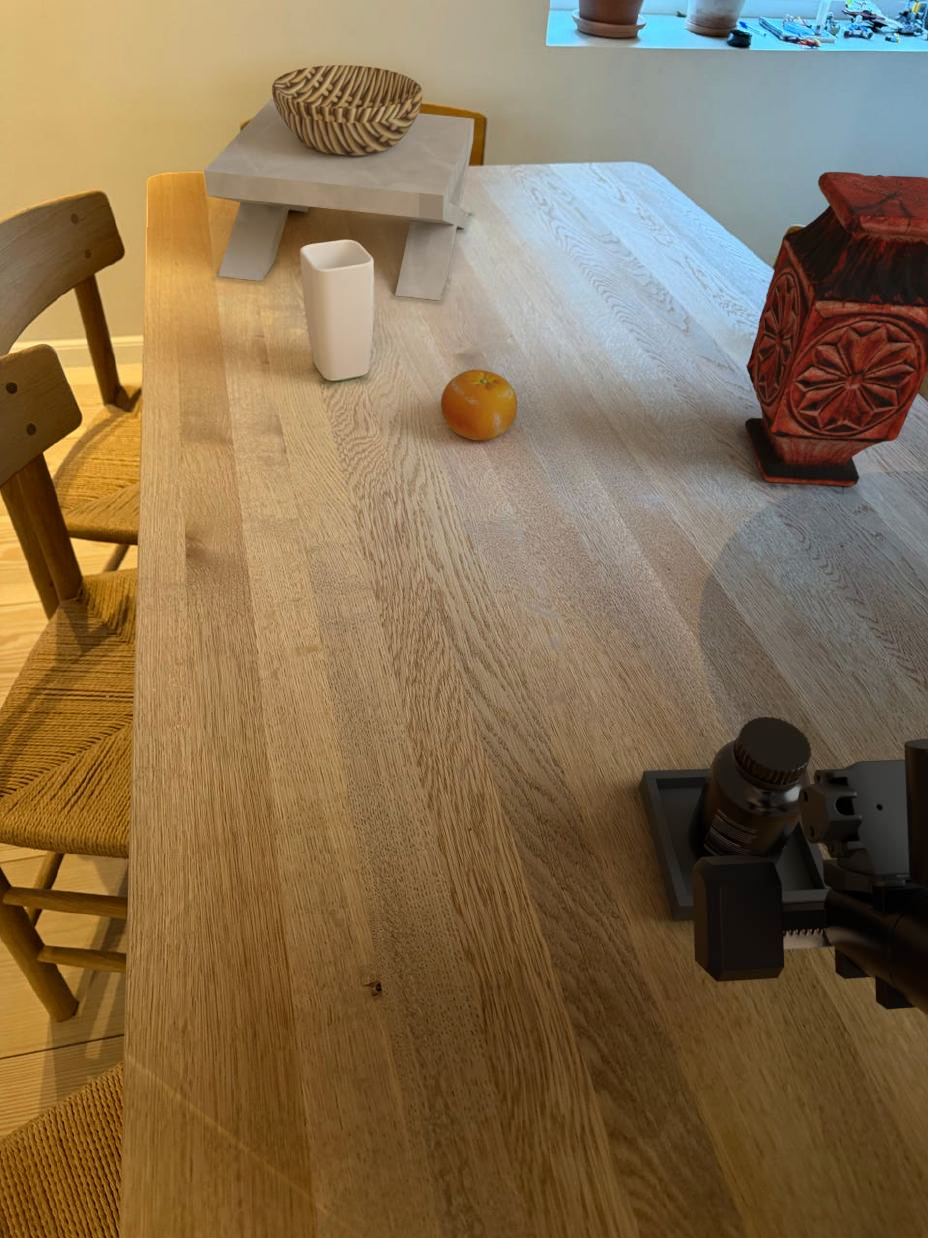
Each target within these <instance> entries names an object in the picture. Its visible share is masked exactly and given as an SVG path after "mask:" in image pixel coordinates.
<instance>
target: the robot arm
mask: <svg viewBox="0 0 928 1238" xmlns="http://www.w3.org/2000/svg"><path fill="white" fill-rule="evenodd" d="M903 747H904V759H885V760H884V759H882V760H862V761H856V762H854V763H852V764H850V765H848V766H846V767H844V768H825V769H824V768H823V769H815V771H814V773H813V781H814V783H811V784H809V785H807V786H805V787H802V788H801V789H800V791H799V795H798V802H799V808H800V813H801V818H802V824H803V829H804V835H805V837H806V838H807V840H808V841H809V842H810V843H811V844H817V843H818V844H821V845H824V846H825V847H826V850H827V853H828V856H829V857H830V858H827V859H825V858H824V860H823V879H824V884H825V885H827V886H829V887H831V888H830V889H829V891H828V893H827V895H826V898H825V901H812V902H795V903H782V883H781V880H780V877H779V875H778V872H777V869H776V866H775V864H774V862H773V861H771V860H770V859H768V858H766V857H762V854H746V855H727V856H714V857H701V858H700V859H699V861H698V862H697V863H696V864H695V865H694V866H693V867H692V884H693V915H694V920H693V940H694V942H693V943H694V945H693V946H694V961H695V962H696V963H697V964H698V965H699V967H701V968H702V970H703V971H705V972H706V973H707V974H708V975H709V976H710V977H711V978H712V979H713V980H714V981H716V982H717V983H723V982H724V983H725V982H739V981H753V980H755V981H756V980H769V979H779V977H780V975H781V973H782V972H783V970H784V968H785V951H789V950H790V951H791V950H805V949H808V950H809V949H824V948H834V971H835V974H837V975H839V977H841V978H842V979H843V980H849V979H850V980H852V979H865V978H872V979H873V980H874V987H875V988H874V989H875V1002H876V1003H877V1004H878V1005H880V1006H881V1007H882V1008H884V1009H885V1010H900V1009H901V1010H903V1009H918V1010H919V1011H920V1012H922V1013H923V1014H925V1015H927V1016H928V738H918V739H917V738H916V739H911V740H908V741H905V742H904V744H903Z"/></svg>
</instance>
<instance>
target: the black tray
mask: <svg viewBox="0 0 928 1238" xmlns="http://www.w3.org/2000/svg"><path fill="white" fill-rule="evenodd" d="M709 769H710V768H688V769H660V770H659V769H658V770H657V769H656V770H643V773H642V775H641V779H640V782H639V785H638V788H639V793H640V796H641V801H642V804H643V809H644V813H645V816H646V820H647V824H648V828H649V831H650V836H651V840H652V843H653V847H654V851H655V855H656V859H657V863H658V866H659V867H658V868H659V871H660V875H661V878H662V882H663V886H664V891H665V894H666V899H667V902H668V906H669V910H670V914H671V917H672V921H673V922H679V921H694V915H693V884H692V867H693V866H694V865H695V864H696V863H697V862H698V861H699V860H698V858H697V857H696V855H695V854H694V852H693V850H692V848H691V845H690V842H689V835H688V832H689V825H690V822H691V819H692V815H693V813H694V810H695V807H696V804H697V802H698V799H699V796H700V794H701V791H702V788H703V785H704V783H705V780H706V777H707V775H708V772H709ZM823 860H825V858H824V856H823V853H822V851H821V849H820V846H819V843H817V844H811V843H810V842H809V841H808V840H807V838H806V837H805V835H804V829H803V824H802V818H801V817H800V819H799V821H798V823H797V825H796V827H795V829H794V831H793V833H792V835H791V837H790V839H789V841H788V843H787V845H786V847H785V849H784V851H783V853H782V855H781V857H780V859H779V861H778V862H777V864H776V869H777V872H778V875H779V877H780V880H781V883H782V903H795V902H812V901H825V898H826V895H827V893H828V891H829V889H830V888H831V887H829V886H827V885H825V884H824V879H823Z"/></svg>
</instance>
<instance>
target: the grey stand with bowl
mask: <svg viewBox="0 0 928 1238" xmlns="http://www.w3.org/2000/svg"><path fill="white" fill-rule="evenodd" d="M271 95H272V98H270V99H269V100H268V101H267V102H266V103H265V104H264V106H263V107H262V108H261V109H260V110H259V111H258V112H257V113H256V114H255V115H254V117H252V119H250V121H249V122H247V124H246V125H245V126H244V127H243V128H242V129H241V130H240V131H239V132H238V133H237V134H236V136H234V138H233V139H232V140H230V142H229V143H228V144H227V145H226V146H225V148H223V149H222V151H220V152H219V154H218V155H217V156H216V157H215V158H214V159H213V161H211V162H210V163H209V164H208V166H207V167H206V168H205V169H204V170H203V176H204V182H205V183H204V184H205V191H206V196H207V197H211V198H216V199H221V200H226V201H231V202H236V203H239V206H238V209H237V213H236V216H235V219H234V222H233V225H232V229H231V233H230V234H229V235H230V236H229V239H228V242H227V245H226V249H225V251H224V255H223V257H222V261H221V265H220V267H219V271H218V274H217V277H221V278H229V279H238V280H249V281H257V282H258V281H259V282H263V280H264V278H265V277H266V275H267V274H268V272H269V271H270V269H271V268H272V267H273V265H274V264H275V261H276V258H277V253H278V250H279V246H280V243H281V240H282V236H283V233H284V229H285V225H286V221H287V219H288V214H289V212H300V213H308V212H309V210H310V208H311V207H312V208H313V207H314V208H323V209H332V210H339V211H340V210H341V211H350V212H351V211H352V212H359V213H360V212H361V213H362V212H363V213H372V214H380V215H391V216H396V217H400V218H403V219H406V220H409V221H410V224H409V229H408V233H407V238H406V242H405V248H404V251H403V257H402V262H401V266H400V269H399V270H400V271H399V275H398V279H397V285H396V290H395V295H394V296H395V297H404V298H413V299H422V300H423V299H424V300H432V301H441V300H442V299H441V298H442V296H443V293H444V290H445V287H446V284H447V281H448V275H449V270H450V265H451V261H452V254H453V250H454V245H455V239H456V233H457V229H466V225H467V222H468V218H469V215H470V212H468V211H466V210H464V209H462V208H461V207H462V202H463V196H464V190H465V186H466V181H467V175H468V171H469V165H470V159H471V154H472V150H473V149H472V148H473V144H474V132H475V118H472V117H463V116H451V115H442V114H432V113H431V114H430V113H422V112H421V113H420V110H421V107H422V102H423V95H424V93H423V90H422V87H421V85H420V84H419V83H418V82H417V81H416V80H414V79H413V78H411V77H409V76H407V75H404V74H402V73H399V72H397V71H392V70H389V69H384V68H379V67H373V66H372V67H371V66H365V65H352V64H351V65H350V64H347V65H346V64H345V65H343V64H334V65H333V64H332V65H317V66H309V67H304V68H299V69H296V70H295V69H294V70H292V71H289V72H286V73H285V74H282V75H280V76H279V77H278V78H276V79H275V80H274V81H273V83H272V85H271Z"/></svg>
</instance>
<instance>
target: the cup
mask: <svg viewBox="0 0 928 1238" xmlns="http://www.w3.org/2000/svg"><path fill="white" fill-rule="evenodd" d="M299 258H300V259H299V260H300V273H301V284H302V295H303V304H304V313H305V320H306V328H307V332H308V338H309V344H310V350H311V353H312V354H311V355H312V359H313V363H314V366H315V367H316V369H317V370H318V372H319V373H320V374H321V376H322V377H323V378H324V379H326V380H327V381H329V382H333V383H336V382H343V381H349V380H352V379H357V378H358V379H359V378H361V377H363V376H365V375H366V374H368V373H369V371H370V365H371V364H370V363H371V357H372V346H373V335H374V316H375V314H374V313H375V268H374V267H375V265H374V263H375V262H374V258H373V256H372V255H371V254H370V253H369V252H368V251H367V249H365V248H364V246H362V245H361V244H360V242H358V241H356V240H353V239H339V240H331V241H324V242H317V243H311V244H306V245H304V246H302V247H301V248H300V250H299Z"/></svg>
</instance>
